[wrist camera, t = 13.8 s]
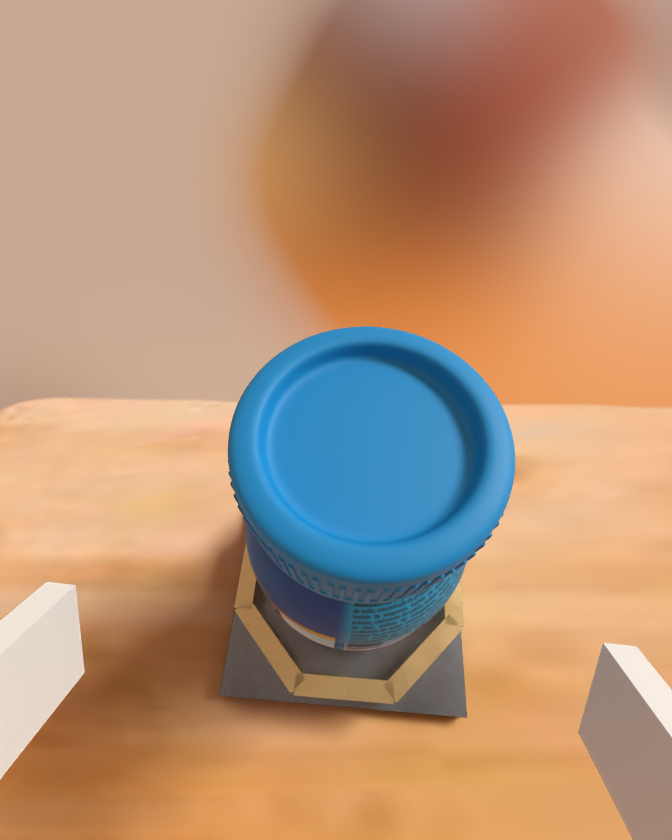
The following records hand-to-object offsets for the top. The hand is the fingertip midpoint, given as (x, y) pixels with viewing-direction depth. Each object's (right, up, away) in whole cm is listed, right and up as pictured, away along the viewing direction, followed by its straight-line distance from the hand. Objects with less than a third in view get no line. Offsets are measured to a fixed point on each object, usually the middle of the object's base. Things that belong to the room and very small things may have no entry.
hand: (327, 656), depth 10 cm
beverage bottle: (+1, -4, +16) cm, 17 cm away
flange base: (+1, -5, +17) cm, 18 cm away
